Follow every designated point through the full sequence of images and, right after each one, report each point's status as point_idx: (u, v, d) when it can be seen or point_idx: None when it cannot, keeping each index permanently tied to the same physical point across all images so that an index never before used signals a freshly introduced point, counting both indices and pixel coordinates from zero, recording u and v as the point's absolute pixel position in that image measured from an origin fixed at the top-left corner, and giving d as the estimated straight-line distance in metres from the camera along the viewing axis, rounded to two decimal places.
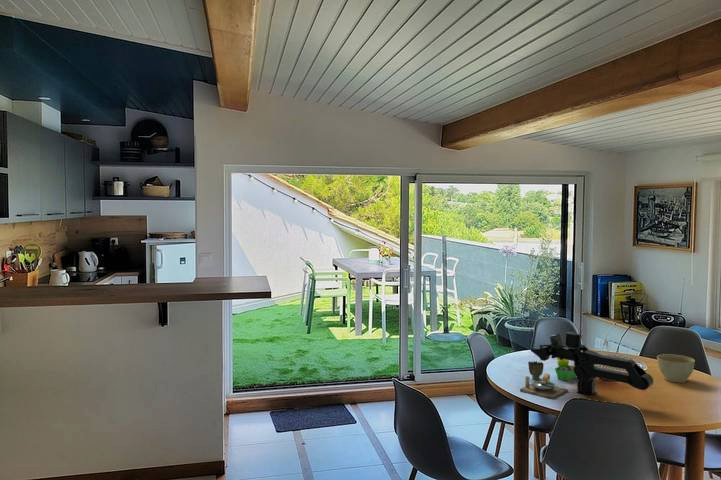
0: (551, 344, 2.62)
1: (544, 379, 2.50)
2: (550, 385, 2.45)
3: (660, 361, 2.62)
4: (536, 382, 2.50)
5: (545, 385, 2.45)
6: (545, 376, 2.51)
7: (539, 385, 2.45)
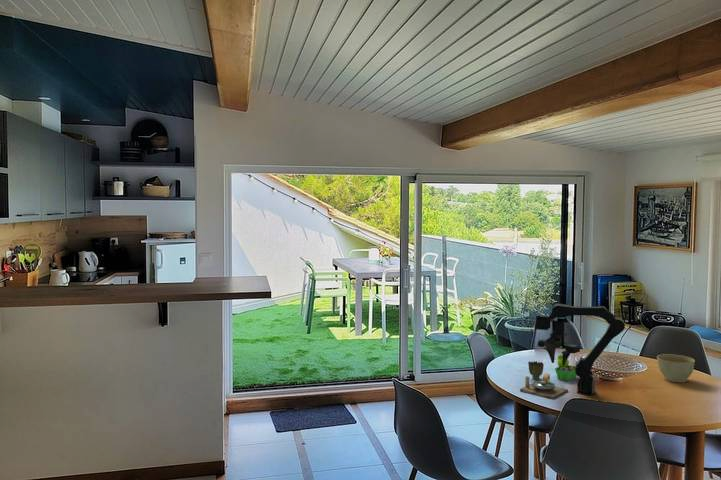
0: (550, 351, 2.51)
1: (544, 379, 2.50)
2: (550, 385, 2.45)
3: (660, 361, 2.62)
4: (536, 382, 2.50)
5: (545, 385, 2.45)
6: (545, 376, 2.51)
7: (539, 385, 2.45)
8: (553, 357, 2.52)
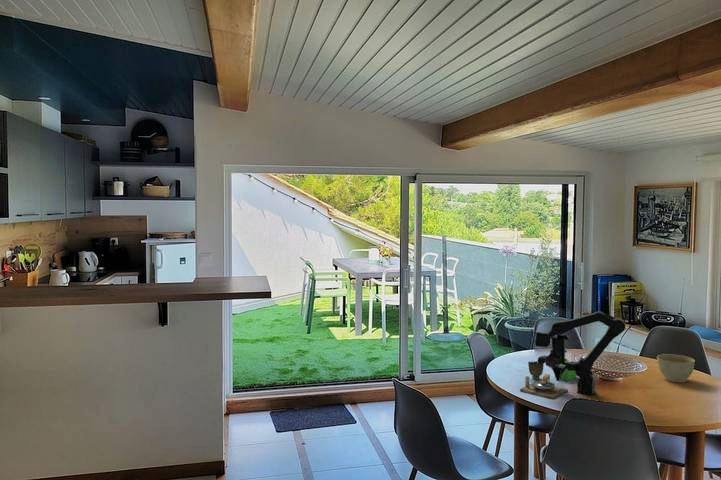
0: (555, 369, 2.49)
1: (544, 379, 2.50)
2: (550, 385, 2.45)
3: (660, 361, 2.62)
4: (536, 382, 2.50)
5: (545, 385, 2.45)
6: (545, 376, 2.51)
7: (539, 385, 2.45)
8: None
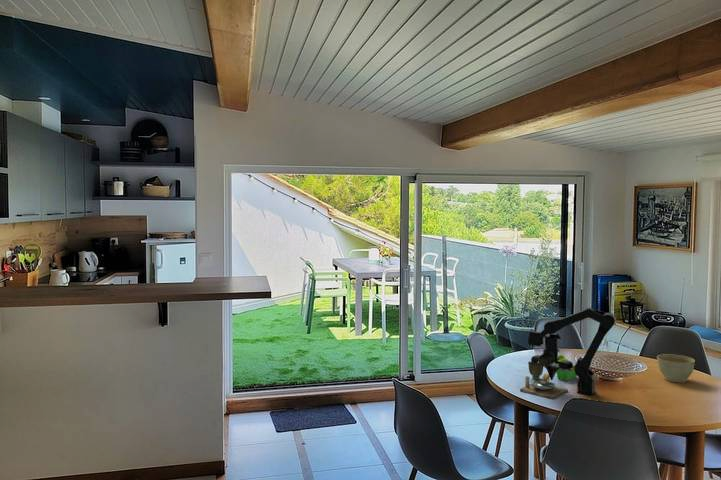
0: (548, 368, 2.51)
1: (544, 379, 2.50)
2: (550, 385, 2.45)
3: (660, 361, 2.62)
4: (536, 382, 2.50)
5: (545, 385, 2.45)
6: (545, 376, 2.51)
7: (539, 385, 2.45)
8: None
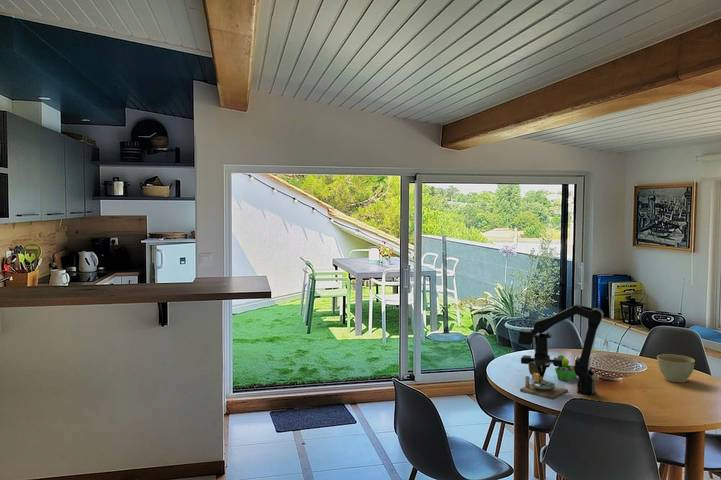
0: (540, 367, 2.53)
1: (540, 379, 2.50)
2: (550, 384, 2.47)
3: (660, 361, 2.62)
4: (535, 383, 2.48)
5: (547, 385, 2.46)
6: (539, 376, 2.52)
7: (543, 386, 2.44)
8: None
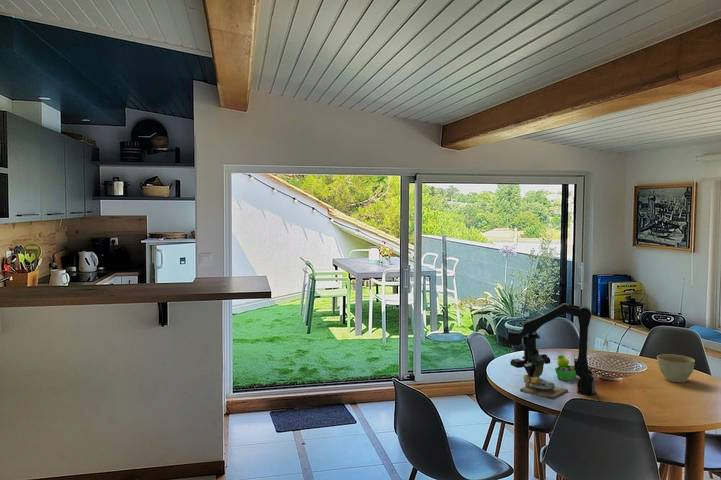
0: (532, 368, 2.52)
1: (537, 379, 2.49)
2: (547, 382, 2.49)
3: (660, 361, 2.62)
4: (537, 385, 2.46)
5: (547, 384, 2.47)
6: (534, 377, 2.50)
7: (548, 386, 2.44)
8: None
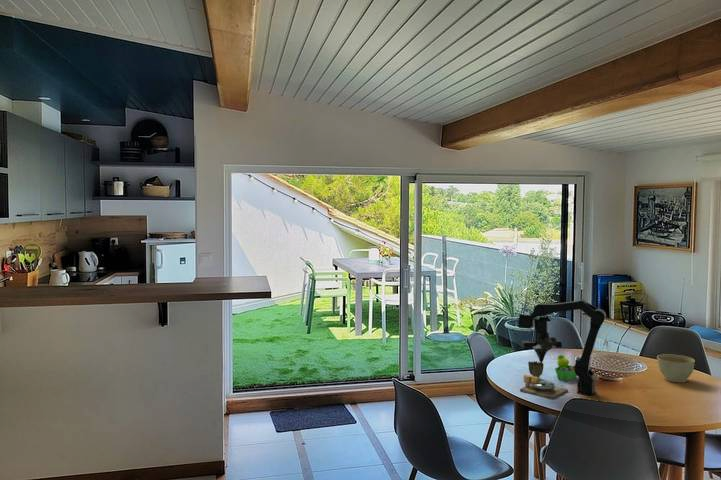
0: (541, 350, 2.53)
1: (537, 379, 2.49)
2: (547, 382, 2.49)
3: (660, 361, 2.62)
4: (537, 385, 2.46)
5: (547, 384, 2.47)
6: (534, 377, 2.50)
7: (548, 386, 2.44)
8: None
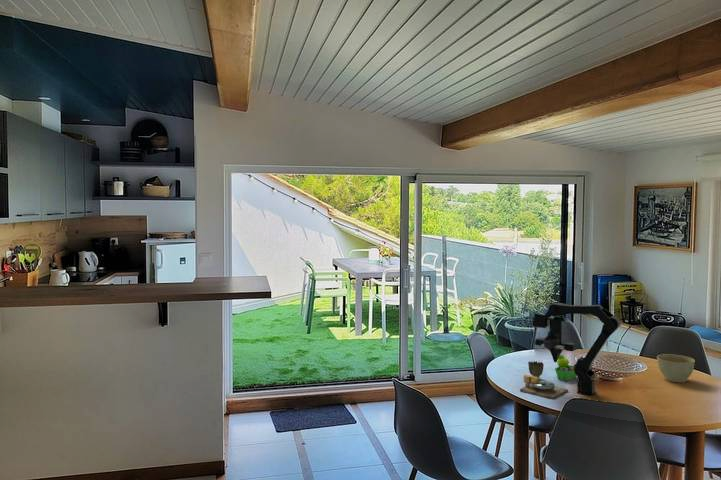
0: (552, 350, 2.52)
1: (537, 379, 2.49)
2: (547, 382, 2.49)
3: (660, 361, 2.62)
4: (537, 385, 2.46)
5: (547, 384, 2.47)
6: (534, 377, 2.50)
7: (548, 386, 2.44)
8: None
